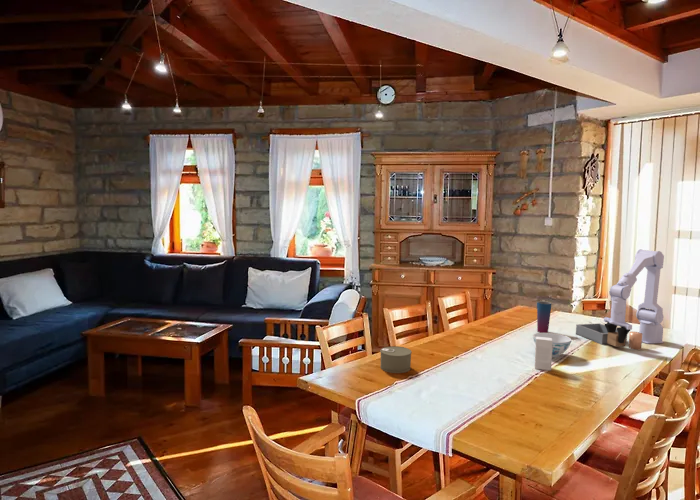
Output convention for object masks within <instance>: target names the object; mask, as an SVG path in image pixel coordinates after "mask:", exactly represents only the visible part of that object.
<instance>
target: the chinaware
mask: <svg viewBox="0 0 700 500" xmlns="http://www.w3.org/2000/svg"><path fill="white" fill-rule="evenodd" d="M532 336H533V337H532V338H533V342H534V344H535V343H536V337H546V338H552V341H553V342H552V358H559V357H560V355H562V354H564V353H565V352H567V350H568V349H569V348H570V345H571V342H572V339H571V337H569V336H566V335H563V334H560V333H554V332H548V333H540V332H537V333H536V332H535V333H534V334H532Z"/></svg>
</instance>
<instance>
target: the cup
mask: <svg viewBox="0 0 700 500" xmlns="http://www.w3.org/2000/svg"><path fill="white" fill-rule="evenodd" d="M551 313H552V302H550V301H544V300H543V301H542V300H540V301H536V323H537V325H536V327H537V330H536V331H537V333H549V327H550V319H551Z"/></svg>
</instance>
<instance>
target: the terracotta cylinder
mask: <svg viewBox="0 0 700 500" xmlns="http://www.w3.org/2000/svg"><path fill="white" fill-rule="evenodd" d="M628 334H629V336H628V348H629V349H631V350H636V351H640V350H642V347H643V345H642V344H643V342H642V333H640V332H638V331H629V333H628Z"/></svg>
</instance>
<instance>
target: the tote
mask: <svg viewBox="0 0 700 500" xmlns="http://www.w3.org/2000/svg"><path fill="white" fill-rule="evenodd" d="M615 332H618V331H617V328H616V331H615ZM575 335H576V336H579V337H582V338H584V339H587V340H590V341H591V342H594V343H597V344H600V345H604V346H605V345H609V344H608V343H607V338H608V332H607V329H606V327H605V324H603V323H600V322H598V323H584V324H583V323H582V324H581V323H579V324H578V323H577V324H576V326H575ZM627 343H628V335H627V336H626V338H625V344H627Z"/></svg>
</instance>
